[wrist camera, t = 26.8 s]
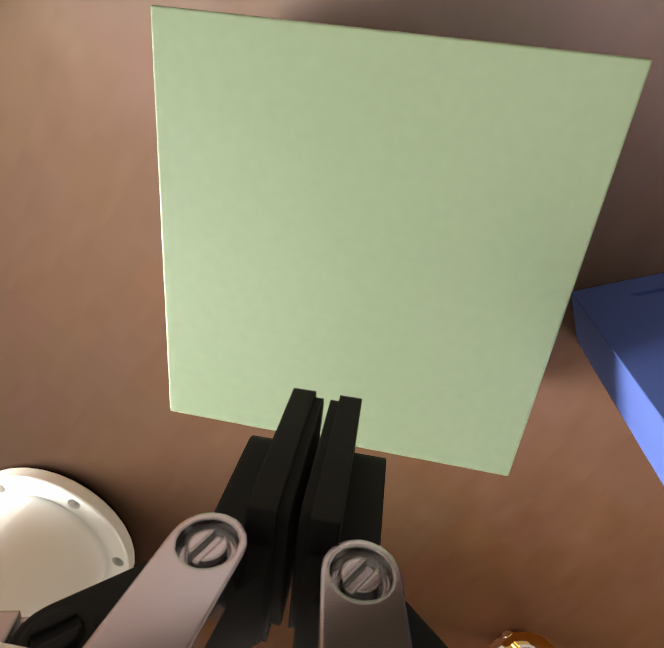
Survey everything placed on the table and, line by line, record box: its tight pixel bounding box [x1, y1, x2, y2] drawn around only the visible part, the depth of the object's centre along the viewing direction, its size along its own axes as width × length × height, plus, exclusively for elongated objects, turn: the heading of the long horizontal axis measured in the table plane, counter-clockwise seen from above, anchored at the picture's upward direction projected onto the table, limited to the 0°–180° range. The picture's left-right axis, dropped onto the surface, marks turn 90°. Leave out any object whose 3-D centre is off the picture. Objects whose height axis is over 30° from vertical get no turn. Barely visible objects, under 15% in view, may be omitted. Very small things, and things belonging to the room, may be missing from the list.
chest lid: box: [151, 5, 652, 476], centre depth 18 cm, size 15×14×1 cm
